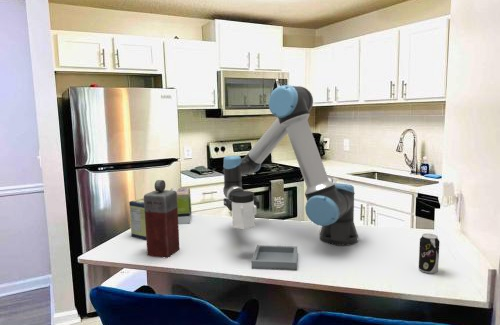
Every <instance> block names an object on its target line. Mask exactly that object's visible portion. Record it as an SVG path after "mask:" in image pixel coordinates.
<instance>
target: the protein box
mask: <svg viewBox="0 0 500 325" xmlns="http://www.w3.org/2000/svg"><path fill="white" fill-rule="evenodd" d="M128 203H129V218H130V233H131V234H130V235H131V237H133V238H137V239H142V240H145V241H146V226H145V210H144V197H142V198H138V199H135V200H131V201H129V202H128Z"/></svg>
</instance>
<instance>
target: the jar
mask: <svg viewBox="0 0 500 325" xmlns="http://www.w3.org/2000/svg"><path fill="white" fill-rule="evenodd" d="M231 196H232V211H231V214H232V215H231V216H232V228H234V229H239V230H240V229H241V230H247V229H251V228H255V227H256V215H255V214H254V213H253V206H254V196H255V193H254V192H253V191H249V190H244V191H238V192H234V193H232V194H231ZM241 207H243V208H244V216H241Z"/></svg>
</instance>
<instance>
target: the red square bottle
mask: <svg viewBox="0 0 500 325" xmlns="http://www.w3.org/2000/svg"><path fill="white" fill-rule="evenodd" d="M165 188H166V181H165V180H163V179H156V180H155V182H154V190H153V191H150V192H147V193H145V194H144V195H143V198H144V210H145V226H146V240H145V241H146V255H147V256H148V257H155V258H157V257H158V258H163V257H165V258H166V259H169V258H170V257H172V256H171V255H173V256H174V254H176V253H177V252H178V251H180V232H179V231H180V230H179V224H178V208H177V192H176V191H171V189H170V190H168V189H165ZM168 257H169V258H168Z"/></svg>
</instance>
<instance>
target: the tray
mask: <svg viewBox="0 0 500 325" xmlns="http://www.w3.org/2000/svg"><path fill="white" fill-rule="evenodd" d="M255 247H256V248H255V250H254V253H253V256H252V259H251V269H256V270H261V269H262V270H280V271H283V270H286V271H297V264H298V262H297V261H298V246H297V245H296V246H294V245H293V246H292V245H262V244H261V245H260V244H257V245H256V246H255Z"/></svg>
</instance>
